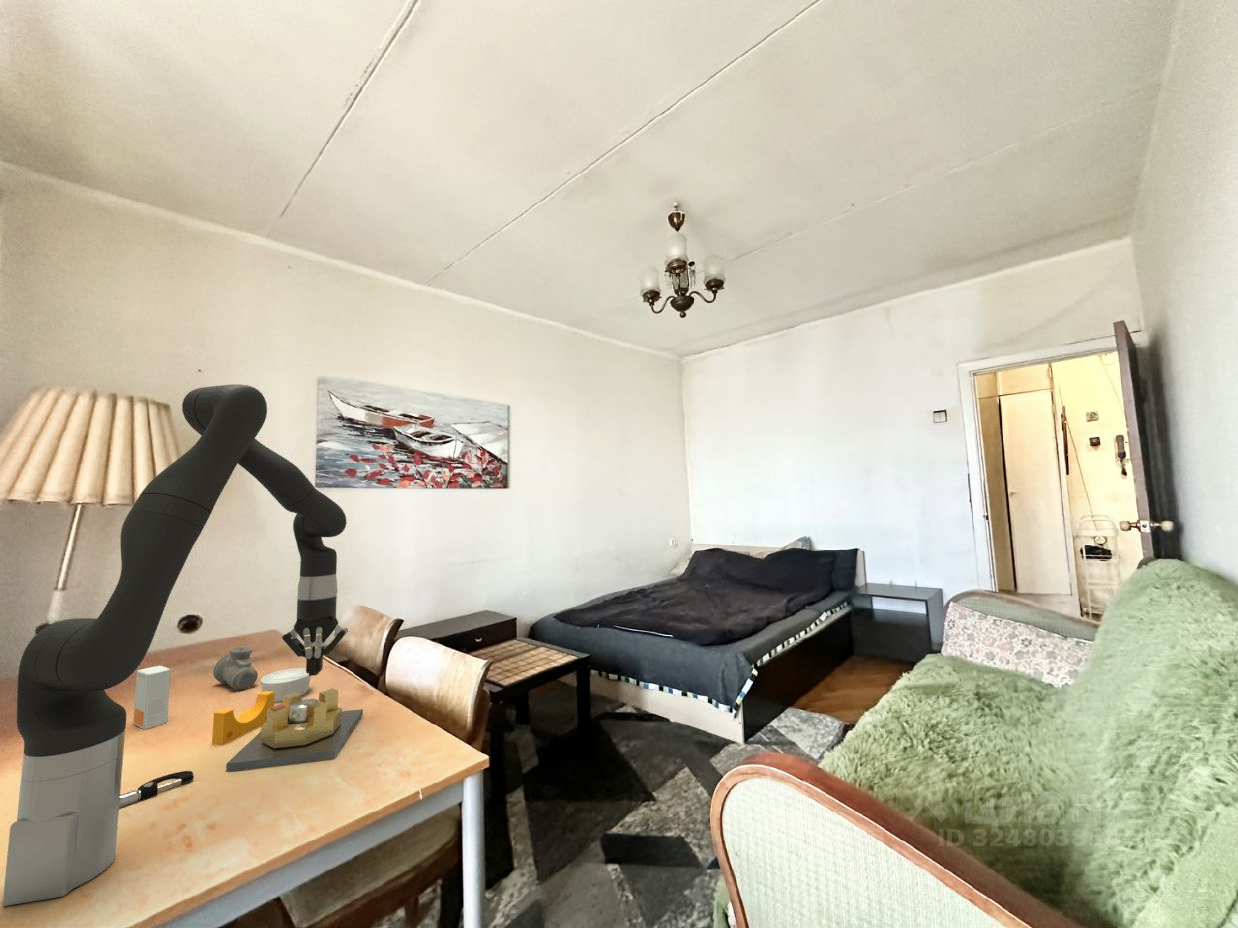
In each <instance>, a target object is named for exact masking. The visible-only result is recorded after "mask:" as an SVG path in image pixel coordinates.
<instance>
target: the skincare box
mask: <svg viewBox="0 0 1238 928" xmlns="http://www.w3.org/2000/svg"><path fill="white" fill-rule="evenodd" d="M171 673H172V671H171V669H170V668H168V667H166V666H162V665H156V666H151V667H146V668H143V669H142V668H141V669H138V670H136V680H135V691H134V692H135V695H134V706H133V717H132V719H133V721H132V724H133V725H135V726H136V727H139V728H141V729H142V730H148V729H151V728H154V727H158V726H162V725H164V724H166V723H168V718H169V716H168V715H169V702H170V689H171V675H172V674H171Z"/></svg>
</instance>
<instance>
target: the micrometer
mask: <svg viewBox="0 0 1238 928" xmlns="http://www.w3.org/2000/svg"><path fill="white" fill-rule="evenodd" d="M168 780H172V781H170V782H167V783H164V784H161V785H158V784H160V783H162V782H165V781H168ZM193 780H194V772H193V771H192V770H183V771H178V772H173V773H170V774H166V775H163V776H159V777H156V778H154V779H151V780H149V781H147V782H145V783H144V784H141V785H140V786H139V787H138V789H137V790H136V789H135V790H132V791H128V792H125V793H122V794H120V802H119V810H120V809H121V808H125V807H127V806H130V805H133V804H136V803H138V802H139V801H141V802H142V801H144V800H148V799H150V798H153V797H156V796H157V795H158V792H161V791H164V790H166V789H167V790H168V789H169V788H172V787H175V786H179V785H183V784H185V783H188V782H192V781H193Z"/></svg>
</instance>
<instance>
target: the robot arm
mask: <svg viewBox="0 0 1238 928" xmlns="http://www.w3.org/2000/svg"><path fill="white" fill-rule="evenodd" d="M181 403H182V404H181V405H182V406H181V410H182V414H183V417H184V419H185V421H186V422H187V424H188V425H189V426H190V427H191V428H192V429H193V431H195V432H196V433H198V434H199V435H200V437H199V438H198V440H197V441H196V442H195V444H194V445H193V446H191V447H190V448H189V449H188V450H187V451H186V452H185V453H183V454H182V455H181V456H180V457H178V459H176V460H175V461H174V462H172V463H171V464H169V465H168V466H167V467H165V468H164V470H162V471H161V472H159V473H158V474H157V475H156V476H155V477H154V478H152V479H151V480H150V482H149V483H148V484H147V485H146V486H145V487H144V489H143V490H142V491H141V493H140V494H139V496H138V498H137V499H136V501H135V502H134V504H133V506H132V507H131V509H130V510H129V512H128V514H127V515H126V517H125V519H124V521H123V523H122V526H121V531H120V538H119V539H120V540H119V541H120V545H119V546H120V560H121V569H120V576H119V579H118V582H117V584H116V586H115V588H114V591H113V592H112V594H111V596H110V598H109V599H108V602H107V603H106V604H105V607H104V608H103V610H102V611H101V612H100V614H99V615H98V616H97V618H87V617H86V618H83V617H79V618H78V617H77V618H76V617H75V618H67V619H63V620H58V621H56V622H54V623H52V624H49V625H47V626H45V627H44V628H42V629H41V630H40V631H39V632H38V633H36V634H35V635H34V636H33V637H32V638H31V640H30V641H29V642H28V644H27V646H26V647H25V649H24V651H23V654H22V655H21V658H20V662H19V667H18V675H17V690H16V691H17V693H16V699H17V700H16V727H17V730H18V732H19V735H20V736H21V737H22V740H23V745H24V746H23V754H22V755H23V757H22V765H21V766H22V767H21V776H20V782H19V783H20V785H19V786H20V787H19V796H18V806H17V814H16V815H17V817H16V821H15V822H13V823H12V824H10V827H9V836H8V845H7V854H6V867H5V875H4V886H3V887H4V888H3V897H2V905H3V906H2V907H5V906H12V905H17V904H25V903H30V902H31V903H32V902H36V901H43V900H49V899H55V898H62V897H64V896H65V895H67V894H68V893H70V892H71V891H72V890H74V889H75V888H77V887H79V886H81V885H83V884H85V883H87V882H89V881H90V880H92V879H94V878H95V877H97V876H99V875H100V874H102V872H105V870H106V869H107V868H109V867H110V865H111V864H112V863H113V862H114V860H115V858H116V853H117V852H116V850H117V838H118V829H119V828H118V827H119V813H120V809H119V802H120V795H121V790H122V789H121V788H122V787H121V786H122V774H123V761H124V750H125V749H124V748H125V740H126V739H125V738H126V736H125V735H126V727H127V710H126V709H125V707H123V706H122V705H121V704H119V703H118V702H116V701H114V700H113V699H112V698H111V697H110V696H109V695H108V694H107V692H106V690H108V689H112V688H113V687H116V686H118V685H120V684H121V683H123V682H124V681H125V680H127V679H128V678H130V676H131V675H133V674H134V673H135V672H136V671H137V669H138V668H139V666H140V665H141V664H142V662H143V660H144V659H145V657H146V655H147V654H148V652H149V649H150V646H151V644H152V643H153V640H154V637H155V635H156V631H157V629H158V626H159V624H160V621H161V618H162V616H163V613H164V611H165V607H166V605H167V602H168V600H169V598H170V595H171V593H172V591H173V588H174V586H175V584H176V582H177V580H178V578H179V576H180V575H181V572H182V569H183V568H184V565H185V563H186V561H187V560H188V558H189V555H190V553H191V552H192V550H193V548H194V546H195V544H196V542H197V541H198V539H199V537H200V536H201V534H202V532H203V530H204V528H205V526H206V525H207V523H208V520H209V518H210V516H211V514H212V512H213V510H214V509H215V508H214V507H215V505H216V504H217V501H218V500H219V498H220V496H221V494H222V493H223V490H224V489H225V487H226V485H227V483H228V481H229V480H230V478H231V476H232V475H233V472H234V471H235V468H236V466H237V465H239V466H240V467H241V468H243V469H244V470H246V472H248V473H249V474H250V475H251V476H252V477H254V478H255V480H257V481H258V482H259V483H260V484H261V485H262V486H263V487H264V488H265V489H266V490H267V492H268V493H270V495H271V496H272V497H273V498H274V499H275V500H276V501H277V503H279V504H280V505H281V507H283V509H284V510H286V511H288V512H290V513H294V514H296V515H295V516H294V519H293V522H292V523H293V524H292V530H293V534H294V539H295V542H296V547H297V551H298V553H299V556H300V561H299V562H300V564H299V567H300V568H299V578H298V579H299V580H298V585H297V596H296V597H297V601H296V621H295V623H294V624H293V629H291V630H290V631H288V632H286V633H285V634H283V635H282V637H281V638H282V640H283V641H284V642H285V643H286V645H287V646H288V647H289V648H290V650H291V651H293V653H294V654H295V655H296V656H297V657H302V658H305V659H306V661H305V662H306V664H305V668H306V672H307V673H309V676H311V677H312V676H317V675H319V674H320V672H321V671H322V670H323V667H324V656H326V655H329V654H330V653H331V652H332V651H333V650H334V649H335V648H336V646H337V645H338V644H339V643H340V642H341V641H342V640H343V638H344V637H345V636H346V635H347V634H348V632H349V629H348V628H347V627H345V628H343V627H342V626H340V625H339V620H338V619H337V600H338V597H337V595H338V579H337V567H338V566H337V563H338V559H337V558H338V555H337V551H336V549H334V548H331V547H330V546H329V547H328V546H326V545H325V544H324V541H323V538H333V537H334V538H335V537H337V536H339V535H341V534H342V533H343V532H344V531H345V529H346V528H347V527H346V526H347V523H348V522H347V517H346V513H345V511H344V509H343V508H342V507H341V506H340V505H339V504H338V503H336V502H335V501H333V500H332V499H331V498H330V497H328V496H327V495H325V493H323V492H321V491H320V490H318V489H317V488H316V487H315V486H314V484H313V483H312V482H311V481H310V480H309V479H308V477H307V476H306V475H305V473H304V472H303V471H302V470H300V467H298V466H297V465H296V464H294V463H293V462H292V461H290V460H288V459H287V458H285V457H283V456H282V455H280V454H278V453H277V452H275V451H274V450H272V449H271V448H269V447H267V446H266V445H264V444H263V443H261V441H259V440H257V439H256V437H257V435H258V434H259V432H260V431H261V430H262V428H263V426H264V425H265V422H266V418H267V414H268V406H267V405H268V403H267V401H266V398H265V396H264V395H263V393H262V392H261V391H260V390H259V389H257V388H255V387H253V386H251V385H247V384H239V383H238V384H237V383H236V384H232V383H231V384H222V385H213V386H203V387H198V388H195V389H192V390H191V391H189V392H188V393H187V394H186V395H185V396H184V398H183V400H182V402H181ZM332 634H333V636H334V638H333V640H331V642H330V643H329V644H328V645H327V646H326V644H327V639H328V638H329V637H330V636H331V635H332ZM298 637H299V638H300V639H301V640H302V642H304V643H302V642H301V641H300V640H299V639H298Z"/></svg>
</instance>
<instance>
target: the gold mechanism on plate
mask: <svg viewBox="0 0 1238 928" xmlns="http://www.w3.org/2000/svg"><path fill="white" fill-rule="evenodd" d="M318 701H319V699H316V698H305V699H301V700H300V701H297V702H294V703H292V704H291V705H290V714H289V725H292V724H302V723H306V720H307V705H309V704H312V703H315V702H318ZM362 715H364V709H363V708H361V709H360V708H359V709H352V710H351V709H350V710H342V717H341V724H340V725H339V726H338V728H337V729H336V730H335V732H334V733H333V734H331V735H329V736H326V737H324V738H321V739H319V740H316V741H313V742H311V743H308V744H306V745H299V746H290V747H281V748H273V747H271V746H269V745H267V744H265V743H263V742H261V734H262V728H260V731H259V732H258V733H257V734H256V735H255V736H254V737H253V738H252V739H251V740H250V741H249V742H247V744H245V746H244V747H242V748H241V750H239V751H238V752H237V753H236V754H235V755H234V756H233V757H232V758H230V760H229V761H228V762H227V763H226V767H225V772H226V773H229V772H237V771H245V770H255V769H262V768H271V767H278V766H287V765H295V764H305V763H313V762H319V761H329V760H334V759H336V757H337V756H338V754H339V753H340V751H341V749H342V748H343V747H342V746H344V745H345V744H346V742H347V740H348V739H349V738H350V736H351V734H352V733H353V731H354V730H355V728H356V727H355V726H357V725H358V724H359V722H360V721H361V719H362V718H361V716H362ZM362 717H363V716H362ZM360 718H361V719H360ZM359 720H360V721H359ZM358 721H359V722H358ZM357 723H358V724H357ZM353 729H354V730H353ZM347 738H348V739H347ZM345 741H346V742H345ZM344 743H345V744H344Z"/></svg>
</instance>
